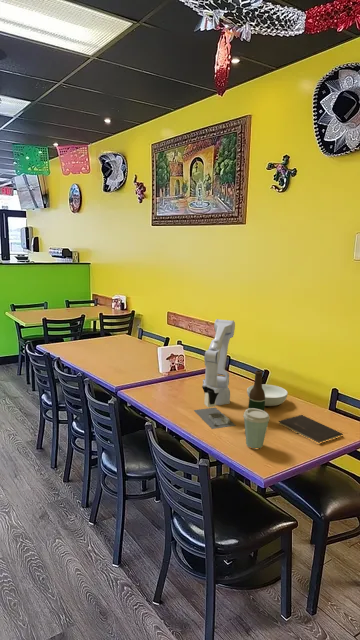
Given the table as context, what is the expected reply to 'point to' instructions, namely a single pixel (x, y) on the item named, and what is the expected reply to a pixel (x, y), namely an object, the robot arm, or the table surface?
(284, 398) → the serving bowl
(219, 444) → the table surface
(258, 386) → the beer bottle
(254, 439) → the disposable coffee cup
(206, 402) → the cream square bottle
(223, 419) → the end holder
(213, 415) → the mat
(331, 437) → the hardcover book
